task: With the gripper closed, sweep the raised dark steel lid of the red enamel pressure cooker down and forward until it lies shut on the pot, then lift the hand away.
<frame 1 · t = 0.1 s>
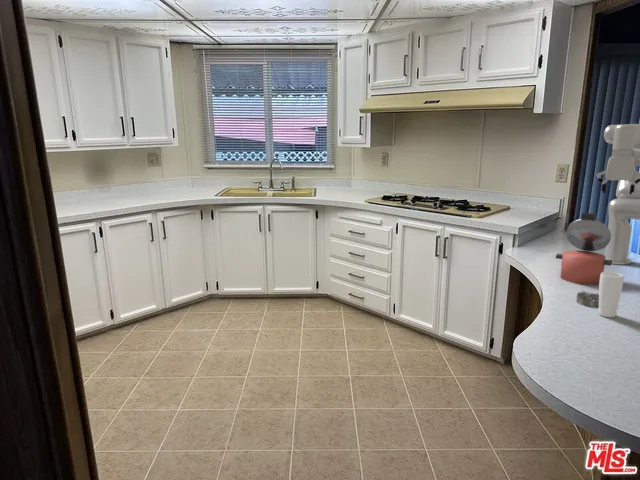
hand: (617, 193, 190), 37 cm above the table, tool pointing down, fingers open, 9 cm apart
cooker lid: (588, 231, 191), point 20 cm above the table, hinge at 65.0°
egg carton: (592, 304, 164), on the table
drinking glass: (606, 315, 152), on the table
cooker pot: (581, 278, 191), on the table
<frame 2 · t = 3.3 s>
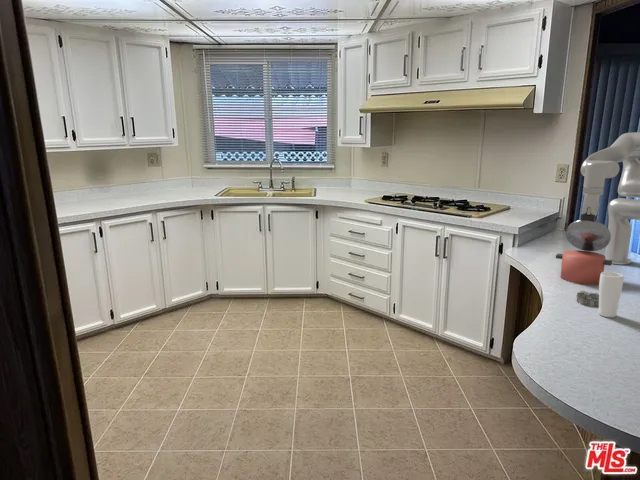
hand: (588, 232, 192), 20 cm above the table, tool pointing down, fingers closed
cooker lid: (588, 231, 191), point 20 cm above the table, hinge at 62.4°, touching gripper
everything else where it was.
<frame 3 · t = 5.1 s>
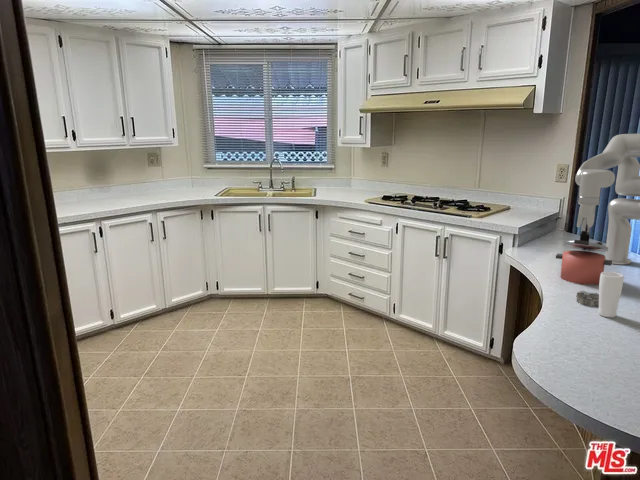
hand: (584, 242, 186), 17 cm above the table, tool pointing down, fingers closed
cooker lid: (584, 243, 188), point 16 cm above the table, hinge at 21.4°, touching gripper
everything else where it was.
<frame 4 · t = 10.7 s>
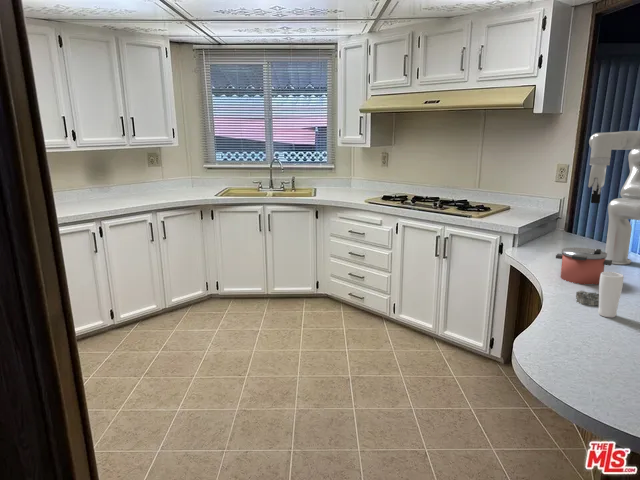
hand: (595, 202, 195), 32 cm above the table, tool pointing down, fingers closed
cooker lid: (583, 251, 188), point 13 cm above the table, hinge at 1.0°
everything else where it was.
at the end: cooker lid at +1° (first picture: +65°) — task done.
